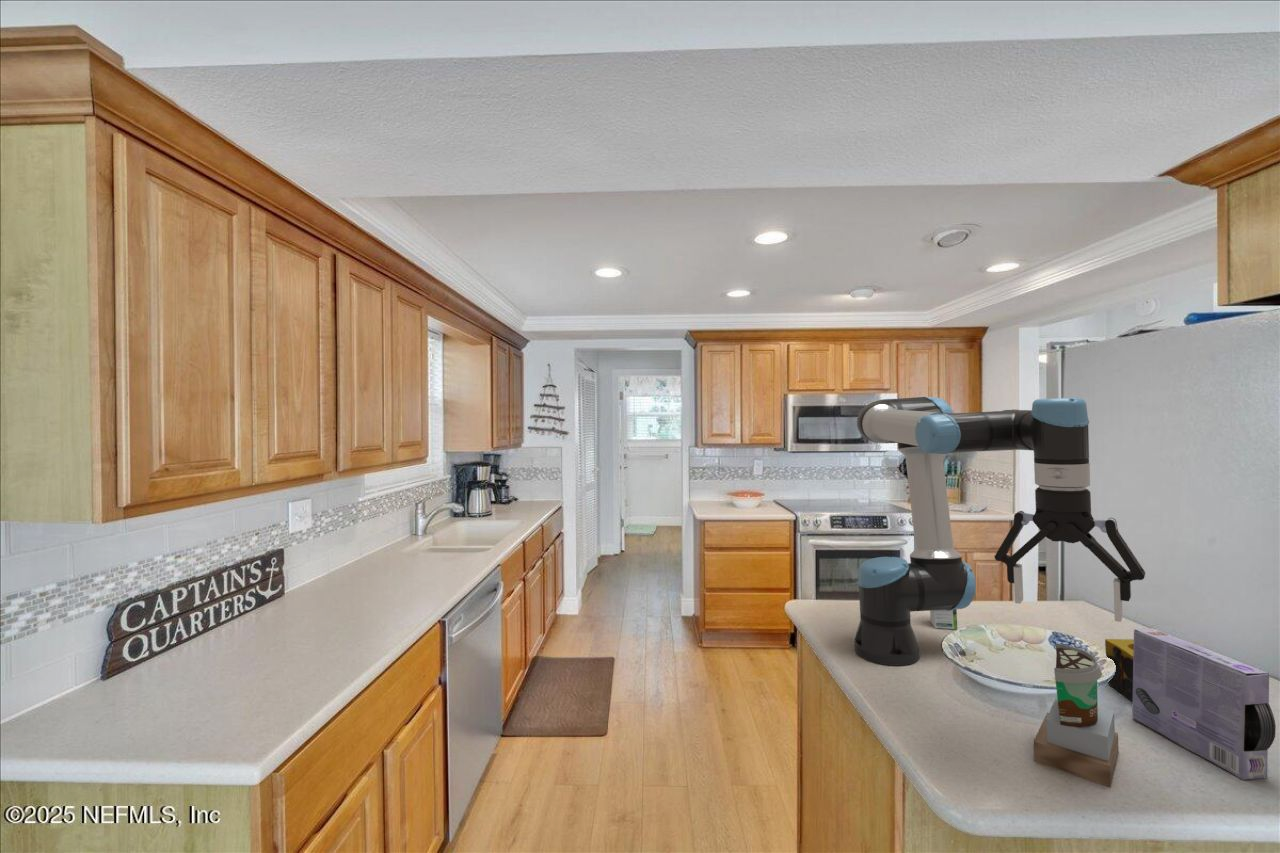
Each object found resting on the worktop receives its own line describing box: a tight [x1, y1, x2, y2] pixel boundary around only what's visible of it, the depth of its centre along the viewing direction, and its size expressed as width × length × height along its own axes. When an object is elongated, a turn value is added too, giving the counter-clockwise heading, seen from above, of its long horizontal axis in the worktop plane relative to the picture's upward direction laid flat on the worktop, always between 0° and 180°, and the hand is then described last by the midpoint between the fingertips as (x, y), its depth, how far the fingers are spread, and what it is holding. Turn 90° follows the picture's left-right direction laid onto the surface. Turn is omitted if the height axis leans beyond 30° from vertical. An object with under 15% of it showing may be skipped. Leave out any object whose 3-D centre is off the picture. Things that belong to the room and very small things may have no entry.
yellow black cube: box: [1104, 638, 1134, 703], centre depth 111 cm, size 10×10×10 cm
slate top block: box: [1046, 695, 1116, 762], centre depth 93 cm, size 8×10×4 cm
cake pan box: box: [1131, 627, 1277, 781], centre depth 94 cm, size 19×5×18 cm, turn 5°
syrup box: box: [929, 609, 958, 630], centre depth 152 cm, size 6×6×14 cm
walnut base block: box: [1033, 712, 1120, 788], centre depth 94 cm, size 10×12×4 cm
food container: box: [1053, 642, 1103, 727], centre depth 93 cm, size 12×6×10 cm, turn 142°
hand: (1066, 610), depth 93 cm, fingers open, 13 cm apart
